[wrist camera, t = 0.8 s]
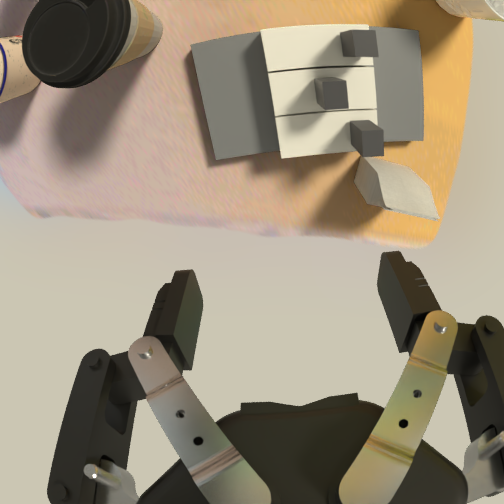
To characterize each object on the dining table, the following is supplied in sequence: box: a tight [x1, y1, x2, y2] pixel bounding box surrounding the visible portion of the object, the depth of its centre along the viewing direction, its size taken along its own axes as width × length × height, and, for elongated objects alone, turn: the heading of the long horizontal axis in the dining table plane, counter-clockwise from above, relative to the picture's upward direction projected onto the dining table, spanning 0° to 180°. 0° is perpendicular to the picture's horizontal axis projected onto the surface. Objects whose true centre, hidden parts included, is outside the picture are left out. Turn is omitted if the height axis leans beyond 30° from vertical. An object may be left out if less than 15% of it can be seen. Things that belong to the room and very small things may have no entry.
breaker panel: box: [191, 24, 424, 160], centre depth 25 cm, size 13×24×9 cm, turn 99°
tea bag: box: [354, 156, 440, 221], centre depth 31 cm, size 4×7×10 cm, turn 82°
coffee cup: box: [22, 0, 163, 88], centre depth 19 cm, size 9×9×15 cm
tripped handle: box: [314, 77, 349, 110], centre depth 23 cm, size 2×2×4 cm
